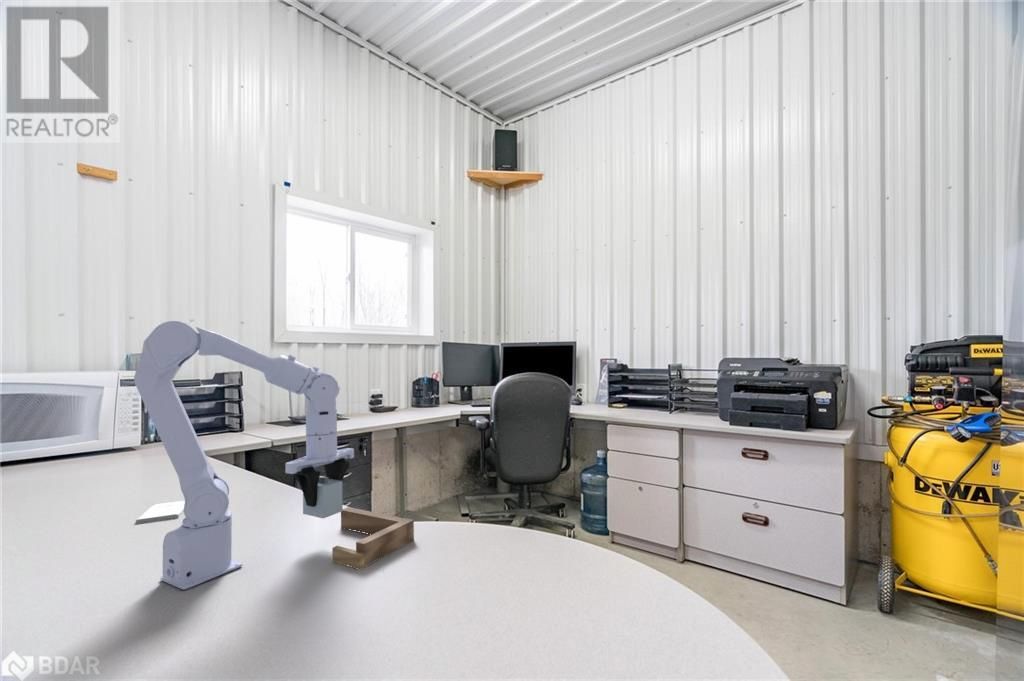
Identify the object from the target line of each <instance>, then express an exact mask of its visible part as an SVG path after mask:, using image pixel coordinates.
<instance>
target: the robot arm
mask: <svg viewBox="0 0 1024 681" xmlns="http://www.w3.org/2000/svg"><path fill="white" fill-rule="evenodd" d="M195 329H196V330H197V331H196V330H195ZM195 329H194V328H193V327H192V326H191V325H190V324H187V323H186V322H183V321H179V320H169V321H165V322H162V323H161V324H158V326H156V327H155V328H154V329H153V330H152V332H151V333H150V334H149V335H148V336H147V337H146V339H144V340H143V346H142V350H141V354H140V357H139V360H138V363H137V366H136V367H137V368H136V370H135V373H134V376H133V381H134V385H135V387H136V390H137V391H138V394H139V396H140V397H141V400H142V403H143V404H144V406H145V409H146V410H147V412H148V415H149V416H150V419H151V422H152V423H153V425H154V428H155V430H156V432H157V435H158V436H159V438H160V441H161V443H162V444H163V447H164V449H165V451H166V453H167V454H166V455H167V456H168V458H169V460H170V462H171V463H172V466H173V468H174V470H175V473H176V475H177V477H178V481H179V488H180V490H181V493H182V495H183V497H184V498H183V499H184V501H185V504H184V512H183V514H184V518H183V519H182V522H181V523H182V524H181V525H180V526H179V527H177V528H175V529H173V530H171V531H169V532H167V533H166V534H165V536H164V538H163V542H162V576H160V581H163V582H165V583H167V584H169V585H171V586H174V587H176V588H178V589H181V590H182V591H183V590H187V589H191V588H192V587H196V586H198V585H201V584H202V583H205V582H207V581H209V580H212V579H214V578H216V577H217V578H218V577H219V576H222V575H224V574H226V573H229V572H232V571H234V570H236V569H238V568H241V567H243V563H242V562H240V561H237V560H234V559H232V544H233V542H232V540H233V539H232V537H233V536H232V533H233V532H232V524H233V523H232V521H233V520H232V516H233V515H232V511H230V510H228V508H229V505H230V500H229V499H230V498H229V493H230V487H229V485H228V483H227V481H225V480H224V479H223V478H222V477H219V475H218V474H216V472H215V469H214V467H213V466H212V464H211V462H210V461H209V459H208V458H207V454H206V453H205V450H204V449H203V446H202V444H201V441H200V440H199V437H198V435H197V433H196V431H195V428H194V426H193V424H192V422H191V420H190V418H189V415H188V414H187V413H188V412H187V411H186V409H185V406H184V404H183V402H182V400H181V398H180V395H179V394H178V392H177V389H176V387H175V385H174V382H173V380H174V378H175V377H176V375H177V374H178V372H179V371H180V369H181V368H182V365H183V364H185V362H187V361H188V360H189V359H191V358H192V357H193V356H194V355H195V354H196V353H197V352H198V353H197V354H198V356H203V357H204V356H221V357H222V358H226V359H227V360H231V361H234V362H236V363H238V364H242V365H243V366H247V367H249V368H251V369H254V370H257V371H259V372H260V373H261V372H262V373H263V375H264V378H265V380H266V382H267V383H268V384H271V385H273V386H276V387H279V388H282V389H283V390H286V391H289V392H291V393H293V394H296V395H304V397H305V398H306V411H305V447H306V448H305V450H306V452H305V455H306V456H303V457H300V458H298V459H294V460H290V461H288V462H285V464H284V465H285V468H284V469H285V471H284V472H285V474H290V475H292V476H294V479H295V480H296V481H297V482H298V484H299V486H300V488H301V491H302V495H303V494H304V497H305V501H306V505H307V506H311V507H314V506H316V503H317V487H318V481H319V477H320V476H321V471H318V470H316V469H315V468H317V467H320V466H323V468H324V470H325V475H326V476H325V477H328V479H334V480H340V481H342V482H343V480H344V477H345V475H346V473H347V471H348V469H349V467H350V461H348V460H347V459H351V460H352V459H354V458H355V449H354V448H349V447H347V448H341V449H338V421H337V420H338V419H337V418H338V417H337V416H338V413H337V400H336V398H337V397H338V395H339V393H340V390H341V388H340V386H339V383H338V381H337V380H336V378H335V377H333V376H332V375H330V374H328V373H323V372H319V370H320V369H319V368H318V367H316V366H313V367H311V366H308V365H306V364H304V363H301V362H299V361H298V360H296V356H294V355H291V354H290V355H287V356H286V355H284V354H280V355H277V356H273V357H270V356H268V355H266V354H264V353H261V352H259V351H257V350H255V349H253V348H251V347H249V346H247V345H244V344H242V343H240V342H238V341H236V340H235V339H231V338H229V337H227V336H225V335H222V334H221V333H217V332H214V331H211V330H208V329H205V328H201V327H197V326H195Z"/></svg>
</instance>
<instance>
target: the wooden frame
mask: <svg viewBox="0 0 1024 681" xmlns="http://www.w3.org/2000/svg"><path fill="white" fill-rule="evenodd" d="M414 521H415V520H414V519H410V518H405V517H399V516H396V515H395V516H394V515H389V514H385V513H380V512H373V511H370V510H365V509H360V508H355V507H349V506H348V507H345V508H343V511H342V512H340V529H341V528H345V529H344V530H346V529H351V530H356V531H360V532H365V533H368V534H371V535H367V536H366V537H363V538H362V539H360V540H357V541H356V542H355V550H354V549H351V548H347V547H343V546H340V545H336V546H333V547H332V548H331V549H332V551H331V552H332V554H331V555H332V562H333V563H335V562H336V563H335V564H339V563H341V564H340V565H342V564H345V565H344V566H346V565H349V566H352V567H355V568H354V569H356V568H358V569H357V570H359V569H360V570H362V569H364V568H365V566H366V565H367V566H369V565H371V564H372V562H373V561H375V560H377V559H378V560H380V559H382V558H384V557H385V556H384V555H386V554H388V553H389V554H391V553H393V552H395V551H397V550H399V549H401V548H402V547H404V546H406V545H408V544H410V543H412V542H414V541H415V529H414V528H415V526H414V525H415V524H414V523H415V522H414ZM411 541H412V542H411ZM409 542H410V543H409ZM407 543H408V544H407ZM405 544H406V545H405ZM403 545H404V546H403ZM401 546H402V547H401ZM400 547H401V548H400ZM398 548H399V549H398ZM396 549H397V550H396ZM394 550H395V551H394ZM392 551H393V552H392ZM390 552H391V553H390ZM389 554H388V555H389ZM383 556H384V557H383ZM386 556H387V555H386ZM381 557H382V558H381ZM379 558H380V559H379ZM378 560H377V561H378ZM375 562H376V561H375ZM370 563H371V564H370ZM373 563H374V562H373ZM368 564H369V565H368ZM349 566H348V567H349ZM367 566H366V567H367ZM352 567H351V568H352ZM363 567H364V568H363ZM361 568H362V569H361Z"/></svg>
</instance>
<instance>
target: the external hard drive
mask: <svg viewBox="0 0 1024 681" xmlns="http://www.w3.org/2000/svg"><path fill="white" fill-rule="evenodd" d="M184 504H185V500H180V501H179V500H178V501H171V502H170V501H169V502H163V503H157V504H156V503H155V504H153V505H152V506H150V507H149V508H148V509H147V510H145V512H144V513H142V514H141V515H140V516H139V517H138V518H137V519H136V520H135V524H136V525H137V524H138V525H139V524H144V523H145V524H146V523H153V522H158V521H159V522H160V521H166V520H167V521H169V520H173V519H174V520H175V519H179V518H181V516H182V515H183V514H184Z"/></svg>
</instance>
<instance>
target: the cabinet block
mask: <svg viewBox="0 0 1024 681" xmlns="http://www.w3.org/2000/svg"><path fill="white" fill-rule="evenodd" d="M343 509H344V508H343V480H342V481H340V480H334V479H328V477H327V476H324V475H320V477H319V481H318V487H317V503H316V506H314V507H311V506H307V505H306V501H305V497H304V494H303V493H302V514H303V515H307V516H312V517H315V518H320V519H326V518H329V517H331V516H333V515H336V514H339V513H341V512H342V511H343Z"/></svg>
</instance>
